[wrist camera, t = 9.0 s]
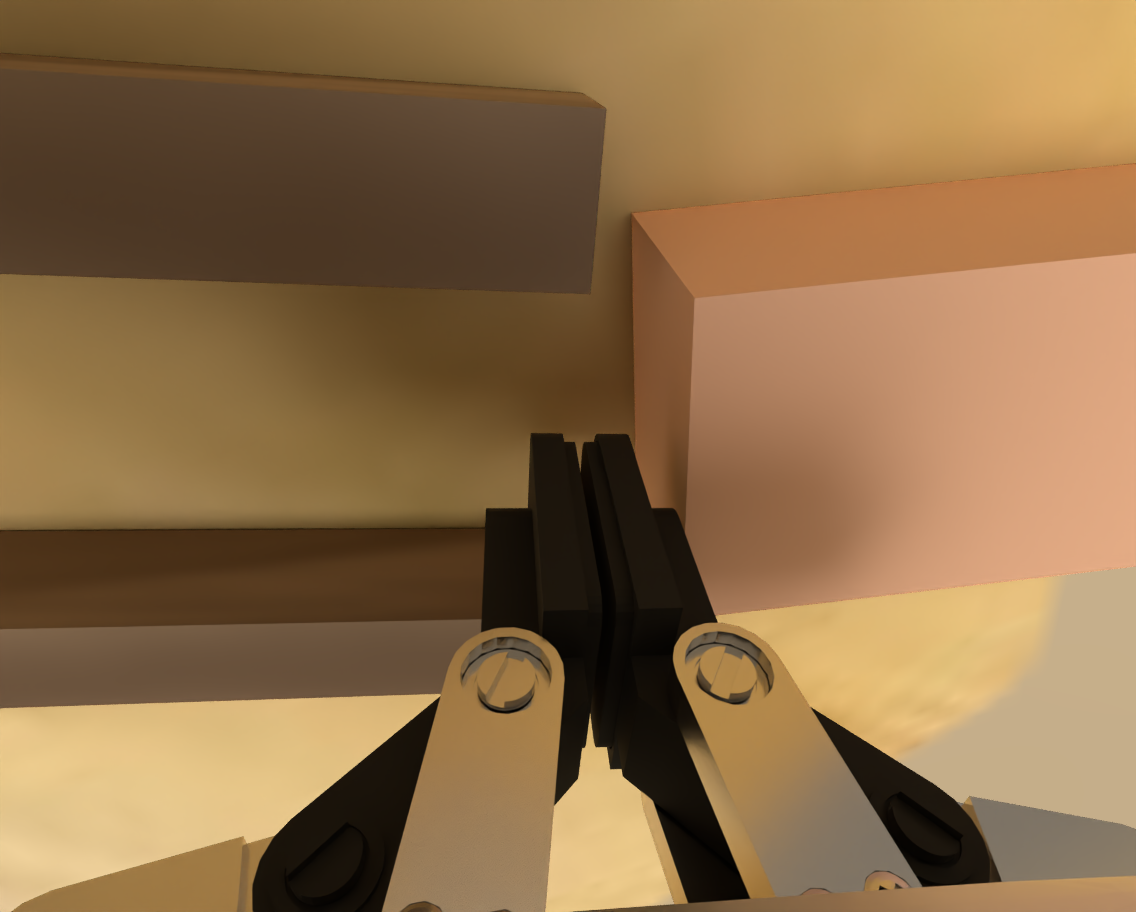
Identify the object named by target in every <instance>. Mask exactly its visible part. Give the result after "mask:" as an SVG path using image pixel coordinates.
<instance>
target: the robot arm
mask: <svg viewBox="0 0 1136 912" xmlns="http://www.w3.org/2000/svg"><path fill="white" fill-rule="evenodd" d="M590 714H591V722H592V730H593V738H594V743H595V746H596V747H607V750H608V757H609V764H610V769H622V774H623V777H624V778H626V779H627V780H628V781H629V782H631V783H632V784H633V785H634V786H635V787H637V788H638V789H639V790H640V791H641V798H642V804H643V810H644V813H645V816H646V819H647V822H648V825H649V828H650V831H651V834H652V837H653V840H654V843H655V846H656V850H657V853H658V856H659V859H660V862H661V865H662V868H663V871H664V874H665V877H666V880H667V883H668V886H669V889H670V892H671V895H672V898H673V902H674V904H672V905H658V906H645V907H631V908H617V909H603V910H589V911H575V912H1136V829H1134V828H1131V827H1129V826H1126V825H1123V824H1118V823H1113V822H1107V821H1102V820H1096V819H1091V818H1085V817H1080V816H1074V815H1069V814H1063V813H1058V812H1053V811H1047V810H1042V809H1036V808H1030V807H1026V806H1020V805H1015V804H1009V803H1004V802H998V801H993V800H988V799H982V798H977V797H971V796H969V797H968V799H967V800H966V801H965V802H964V803H959V802H956V801H955V800H954V799H953V798H952V797H950V796H949V795H947V794H946V793H945V792H944V791H942V790H941V789H940V788H938V787H937V786H936V785H934V784H933V783H931V782H930V781H928V780H926V779H925V778H923V777H922V776H920V775H918V774H917V773H915V772H914V771H912V770H910V769H909V768H907V767H906V766H904V765H902V764H901V763H899V762H898V761H896V760H894V759H893V758H891V757H890V756H888V755H886V754H885V753H883V752H882V751H880V750H878V749H877V748H875V747H874V746H872V745H870V744H869V743H867V742H866V741H864V740H862V739H861V738H859V737H858V736H856V735H854V734H853V733H851V732H850V731H848V730H846V729H845V728H843V727H842V726H840V725H838V724H837V723H835V722H834V721H832V720H830V719H829V718H827V717H826V716H824V715H823V714H821V713H819V712H818V711H816V710H815V709H813V708H811V707H810V706H809V704H808V703H807V701H806V699H805V698H804V696H803V695H802V693H801V691H800V690H799V688H798V687H797V685H796V683H795V682H794V680H793V679H792V677H791V675H790V674H789V672H788V671H787V669H786V667H785V666H784V664H783V663H782V661H781V659H780V658H779V656H778V655H777V654H776V653H775V652H774V650H773V649H772V648H771V647H770V646H769V644H767V643H766V642H765V641H763V640H762V639H761V638H759V637H758V636H757V635H755V634H754V633H752V632H749V631H747V630H745V629H743V628H741V627H739V626H734V625H730V624H725V623H718V622H717V619H716V617H715V614H714V611H713V608H712V606H711V603H710V600H709V597H708V595H707V592H706V589H705V586H704V584H703V581H702V578H701V576H700V573H699V570H698V567H697V565H696V562H695V559H694V556H693V554H692V551H691V548H690V545H689V543H688V540H687V537H686V535H685V532H684V529H683V526H682V524H681V521H680V518H679V516H678V514H677V512H676V510H675V509H673V508H651V504H650V501H649V498H648V495H647V492H646V488H645V485H644V482H643V479H642V476H641V473H640V469H639V466H638V463H637V460H636V457H635V453H634V450H633V447H632V444H631V441H630V438H629V435H627V434H596V435H595V439H594V442H584V444H583V450H582V461H581V472H580V468H579V462H578V456H577V450H576V445H575V442H564V438H563V434H553V433H531V438H530V463H529V493H528V508H486V522H485V546H484V570H483V594H482V618H481V633H479V634H478V635H476V636H474V637H472V638H471V639H469V640H467V641H466V642H465V643H464V644H463V645H462V646H461V647H460V648H459V649H458V650H457V651H456V653H455V654H454V656H453V659H452V661H451V663H450V665H449V667H448V671H447V674H446V678H445V682H444V685H443V689H442V693H441V696H440V697H439V698H438V699H437V700H435V701H434V702H433V703H432V704H430V705H429V706H428V707H427V708H426V709H424V710H423V711H422V712H421V713H420V714H418V715H417V716H416V717H415V718H413V719H412V720H411V721H410V722H409V723H407V724H406V725H405V726H404V727H403V728H401V729H400V730H399V731H398V732H396V733H395V734H394V735H393V736H392V737H390V738H389V739H388V740H387V741H386V742H384V743H383V744H382V745H381V746H379V747H378V748H377V749H376V750H375V751H373V752H372V753H371V754H370V755H368V756H367V757H366V758H365V759H364V760H362V761H361V762H360V763H359V764H358V765H356V766H355V767H354V768H353V769H351V770H350V771H349V772H348V773H347V774H345V775H344V776H343V777H342V778H341V779H339V780H338V781H337V782H336V783H334V784H333V785H332V786H331V787H330V788H328V789H327V790H326V791H325V792H324V793H322V794H321V795H320V796H319V797H317V798H316V799H315V800H314V801H313V802H311V803H310V804H309V805H308V806H307V807H305V808H304V809H303V810H302V811H300V812H299V813H298V814H297V815H296V816H294V817H293V818H292V819H291V820H290V821H289V822H288V823H287V824H286V825H285V826H284V827H283V828H282V829H281V830H280V831H279V832H278V833H277V834H276V835H275V836H272V837H269V838H265V839H262V840H258V841H255V842H251V843H248V844H247V843H246V841H245V839H244V837H239V838H235V839H232V840H228V841H225V842H221V843H218V844H214V845H211V846H207V847H204V848H200V849H197V850H193V851H190V852H186V853H182V854H179V855H175V856H172V857H168V858H165V859H161V860H158V861H154V862H151V863H147V864H144V865H140V866H136V867H133V868H129V869H126V870H122V871H119V872H115V873H112V874H108V875H105V876H101V877H98V878H94V879H91V880H87V881H83V882H80V883H76V884H73V885H69V886H66V887H62V888H59V889H55V890H52V891H49V892H47V893H45V894H43V895H40V896H38V897H36V898H34V899H31V900H29V901H27V902H24V903H22V904H21V905H20V906H18V907H17V908H16V909H14V910H13V911H12V912H545V908H546V896H547V884H548V872H549V860H550V848H551V836H552V824H553V812H554V805H555V804H556V803H557V802H558V801H559V800H560V799H561V797H562V796H563V795H564V794H565V793H566V792H567V791H568V789H569V788H570V787H571V786H572V785H573V784H574V782H575V781H576V780H577V779H578V775H579V767H580V759H581V752H582V748H585V746H586V739H587V732H588V724H589V717H590Z"/></svg>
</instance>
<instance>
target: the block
mask: <svg viewBox="0 0 1136 912" xmlns="http://www.w3.org/2000/svg"><path fill="white" fill-rule="evenodd" d="M631 214H632V275H633V335H634V396H635V456H636V460H637V463H638V466H639V469H640V473H641V476H642V479H643V482H644V485H645V488H646V492H647V495H648V498H649V501H650V504H651V508H673V509H675V510H676V512H677V514H678V516H679V518H680V521H681V524H682V526H683V529H684V532H685V535H686V537H687V540H688V543H689V545H690V548H691V551H692V554H693V556H694V559H695V562H696V565H697V567H698V570H699V573H700V576H701V578H702V581H703V584H704V586H705V589H706V592H707V595H708V597H709V600H710V603H711V606H712V608H713V611H714V614H715V615H723V614H732V613H740V612H749V611H758V610H766V609H775V608H783V607H792V606H800V605H809V604H818V603H826V602H835V601H843V600H852V599H861V598H869V597H878V596H886V595H895V594H904V593H912V592H921V591H929V590H938V589H946V588H955V587H964V586H972V585H981V584H989V583H998V582H1007V581H1015V580H1024V579H1032V578H1041V577H1050V576H1058V575H1067V574H1075V573H1083V572H1093V571H1101V570H1110V569H1118V568H1127V567H1135V566H1136V163H1134V164H1124V165H1113V166H1103V167H1093V168H1083V169H1073V170H1062V171H1052V172H1042V173H1032V174H1022V175H1012V176H1001V177H991V178H981V179H971V180H961V181H950V182H940V183H930V184H920V185H910V186H900V187H889V188H879V189H869V190H859V191H849V192H838V193H828V194H818V195H808V196H798V197H788V198H777V199H767V200H757V201H747V202H737V203H726V204H716V205H706V206H696V207H686V208H676V209H665V210H655V211H645V212H635V213H631Z"/></svg>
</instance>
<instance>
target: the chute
mask: <svg viewBox="0 0 1136 912" xmlns="http://www.w3.org/2000/svg"><path fill="white" fill-rule="evenodd" d="M605 118H606V108H605V107H603V106H602V105H600V104H599V103H597V102H596V101H594V100H592V99H591V98H589V97H588V96H586V95H585V94H583V93H575V92H560V91H546V90H531V89H517V88H502V87H487V86H473V85H458V84H444V83H429V82H415V81H400V80H386V79H371V78H356V77H342V76H327V75H313V74H298V73H284V72H269V71H255V70H240V69H225V68H211V67H196V66H182V65H167V64H153V63H138V62H124V61H109V60H94V59H80V58H65V57H51V56H36V55H22V54H7V53H0V274H22V275H51V276H80V277H109V278H138V279H167V280H196V281H225V282H254V283H283V284H312V285H341V286H370V287H399V288H428V289H457V290H486V291H515V292H544V293H573V294H590V293H591V281H592V270H593V258H594V246H595V235H596V223H597V211H598V200H599V188H600V176H601V165H602V153H603V141H604V129H605ZM484 546H485V528H481V529H295V530H110V531H0V708H18V707H49V706H79V705H110V704H140V703H170V702H201V701H231V700H262V699H292V698H323V697H353V696H384V695H414V694H441V693H442V689H443V685H444V682H445V678H446V674H447V671H448V667H449V665H450V663H451V661H452V659H453V656H454V654H455V653H456V651H457V650H458V649H459V648H460V647H461V646H462V645H463V644H464V643H465V642H466V641H467V640H469V639H471V638H472V637H474V636H476V635H478V634H479V633H481V618H482V594H483V570H484Z"/></svg>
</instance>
